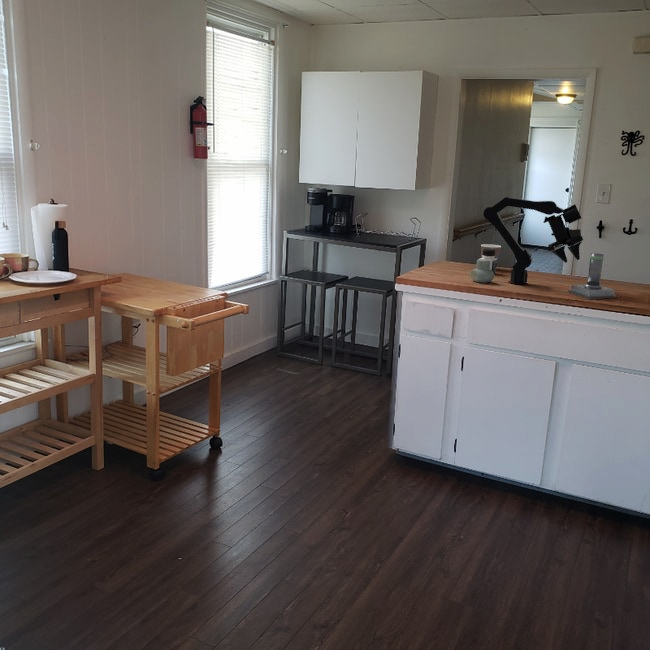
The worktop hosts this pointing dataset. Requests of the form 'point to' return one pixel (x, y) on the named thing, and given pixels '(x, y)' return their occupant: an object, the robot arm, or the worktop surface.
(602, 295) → the metal stand
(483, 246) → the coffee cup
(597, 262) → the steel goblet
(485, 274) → the air freshener
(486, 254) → the medicine bottle
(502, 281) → the worktop surface
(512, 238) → the robot arm
